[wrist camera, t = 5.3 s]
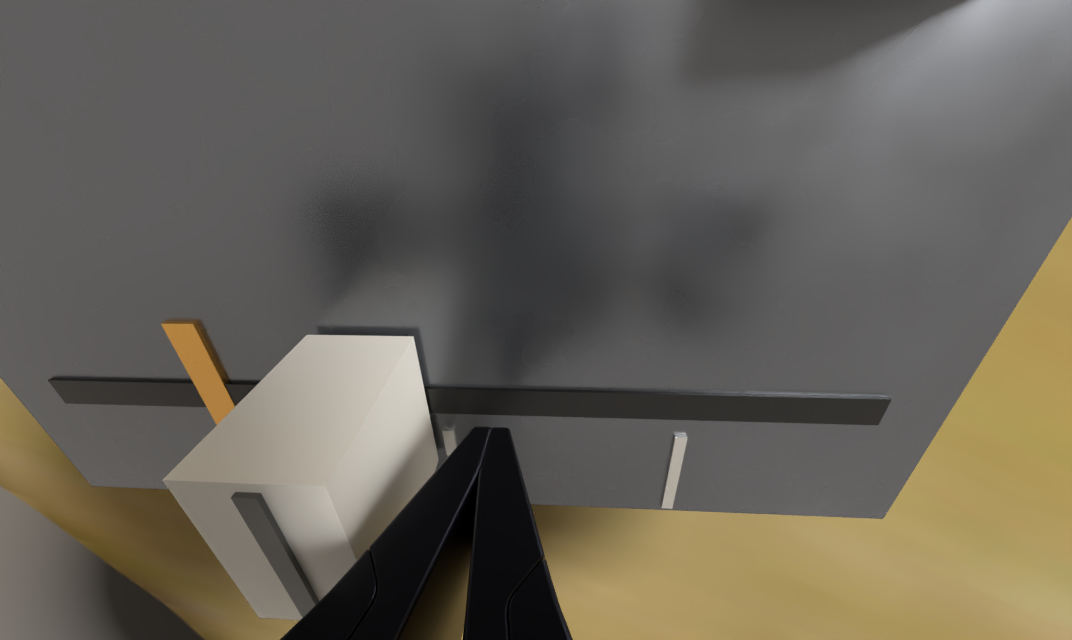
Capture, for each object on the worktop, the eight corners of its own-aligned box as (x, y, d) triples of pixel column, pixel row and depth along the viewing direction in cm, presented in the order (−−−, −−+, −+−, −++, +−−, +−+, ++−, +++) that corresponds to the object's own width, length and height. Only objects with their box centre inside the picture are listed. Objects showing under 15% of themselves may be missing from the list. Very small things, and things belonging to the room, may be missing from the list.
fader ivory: (438, 460, 12) (381, 631, 8) (350, 456, 12) (255, 623, 8) (413, 336, 9) (322, 492, 6) (306, 334, 10) (156, 485, 6)
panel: (852, 474, 13) (886, 522, 12) (133, 449, 15) (87, 489, 13) (1514, -797, 4) (2015, -1256, 3) (-542, -493, 6) (-907, -680, 4)
